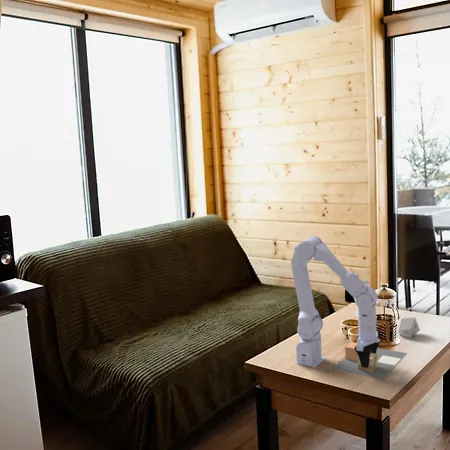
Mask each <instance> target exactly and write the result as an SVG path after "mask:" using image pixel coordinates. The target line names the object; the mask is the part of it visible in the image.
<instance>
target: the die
mask: <svg viewBox="0 0 450 450" xmlns="http://www.w3.org/2000/svg"><path fill="white" fill-rule="evenodd" d="M395 322H396V323H397V326H396V325H395V326H396V329H397V331H398V334H399V335H400V336H402V337H404V338H408V339H411V338H412V337H414V336H415V335H416V334H417V333H418V332H420V331H421V329H420V327H419V323H418V321H417V319H416V317H415V316H412V315H408V314H403V315H402V316H401V317H400V318H398V319H396V321H395Z"/></svg>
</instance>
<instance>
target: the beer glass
mask: <svg viewBox="0 0 450 450" xmlns="http://www.w3.org/2000/svg"><path fill="white" fill-rule="evenodd" d="M360 280H361V281H362V282H363V283H364V284H365V285H366V286H367V285H368V286H369V288H371V286H370V280H365V279H360ZM365 285H364V286H365ZM354 295H355V294H354ZM353 299H354V301H355V300H356V299H355V298H354V297H353ZM354 303H355V302H354ZM354 315H355V317H356V318H358V306H357V305H356V303H355V313H354Z"/></svg>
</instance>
